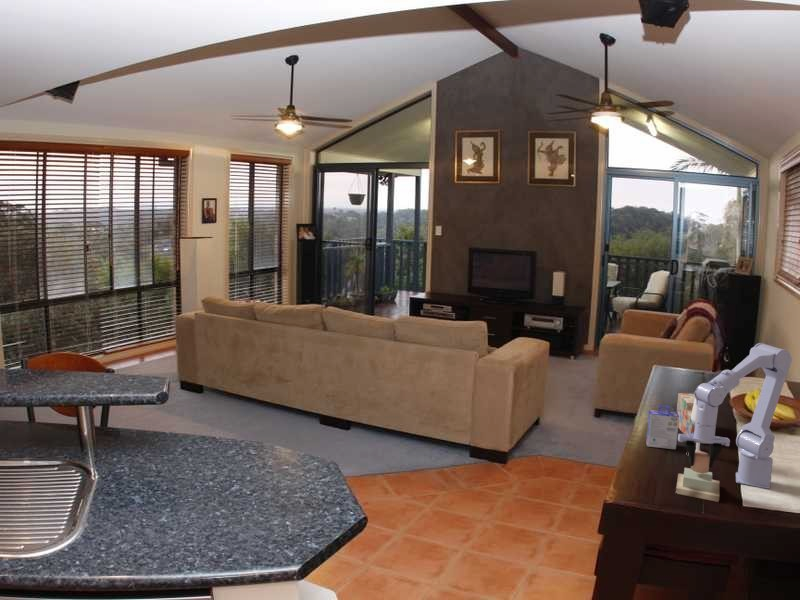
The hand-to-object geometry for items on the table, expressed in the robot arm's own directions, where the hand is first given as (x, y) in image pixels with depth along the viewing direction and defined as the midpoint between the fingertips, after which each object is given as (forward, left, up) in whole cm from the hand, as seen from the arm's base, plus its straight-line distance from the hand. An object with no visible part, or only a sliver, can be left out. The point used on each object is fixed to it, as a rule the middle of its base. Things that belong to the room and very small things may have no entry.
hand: (700, 465), depth 222 cm
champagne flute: (+1, -30, -8) cm, 31 cm away
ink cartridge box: (+13, -33, -8) cm, 36 cm away
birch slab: (0, 0, -9) cm, 9 cm away
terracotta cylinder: (0, 0, -1) cm, 1 cm away
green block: (0, 0, -6) cm, 6 cm away
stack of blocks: (+4, -52, -8) cm, 53 cm away
